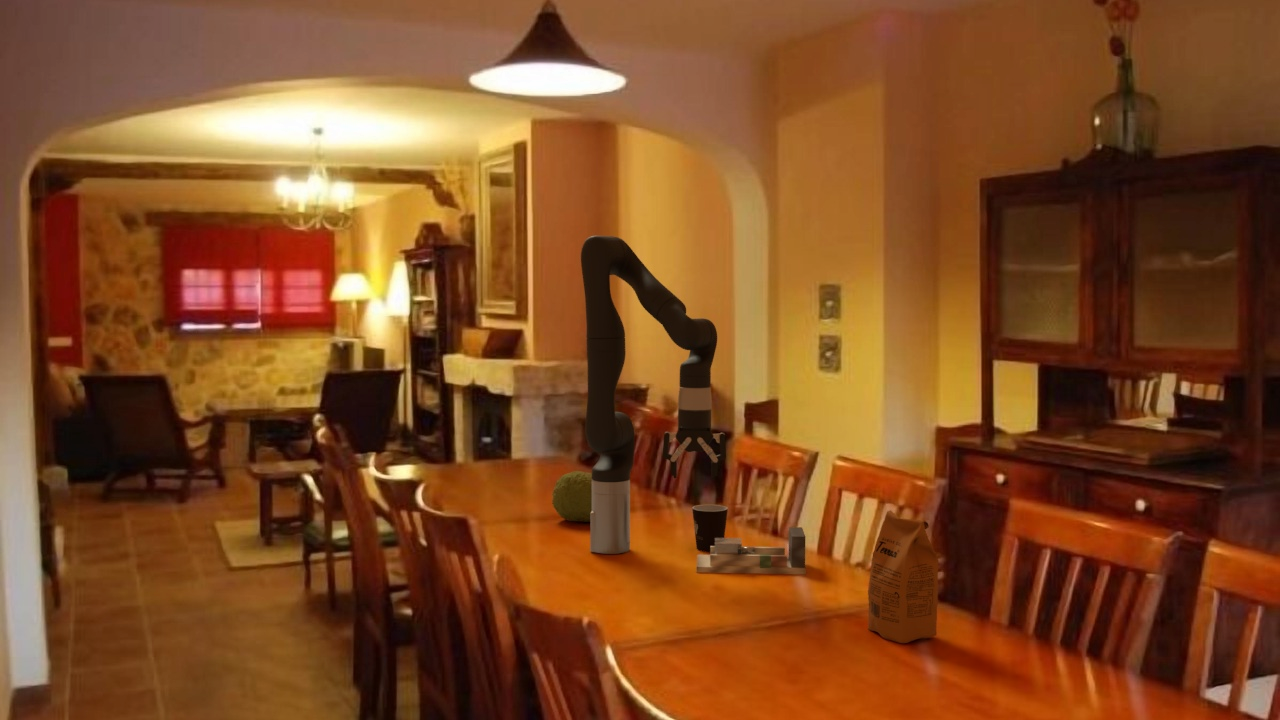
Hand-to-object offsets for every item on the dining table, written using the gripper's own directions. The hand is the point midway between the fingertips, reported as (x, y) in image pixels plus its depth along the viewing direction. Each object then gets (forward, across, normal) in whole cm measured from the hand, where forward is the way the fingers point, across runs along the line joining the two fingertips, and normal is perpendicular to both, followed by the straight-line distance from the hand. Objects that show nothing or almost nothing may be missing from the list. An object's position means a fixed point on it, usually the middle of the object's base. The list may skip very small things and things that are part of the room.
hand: (694, 478), depth 259 cm
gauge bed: (+20, +13, 0) cm, 24 cm away
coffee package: (+20, +39, -50) cm, 66 cm away
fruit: (+21, -31, +48) cm, 60 cm away
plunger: (+19, +9, -2) cm, 21 cm away
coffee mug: (+20, +4, +19) cm, 28 cm away
